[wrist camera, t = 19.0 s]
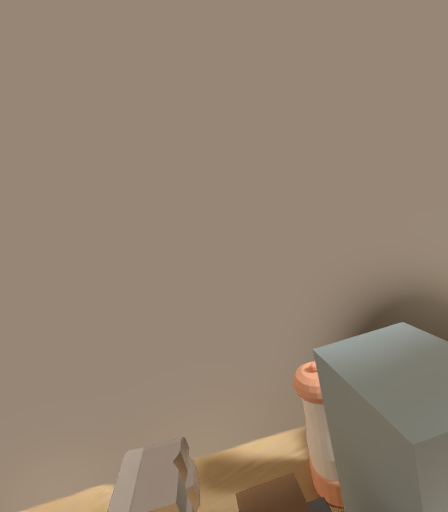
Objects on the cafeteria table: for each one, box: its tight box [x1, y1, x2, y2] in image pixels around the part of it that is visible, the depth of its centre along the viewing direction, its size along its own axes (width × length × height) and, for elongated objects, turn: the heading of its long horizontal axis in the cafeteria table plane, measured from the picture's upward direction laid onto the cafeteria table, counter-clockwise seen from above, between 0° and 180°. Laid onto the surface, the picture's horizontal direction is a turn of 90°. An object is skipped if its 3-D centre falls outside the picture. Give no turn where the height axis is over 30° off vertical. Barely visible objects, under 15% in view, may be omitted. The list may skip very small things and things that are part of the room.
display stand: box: [313, 322, 448, 512], centre depth 24 cm, size 13×11×27 cm
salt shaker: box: [293, 362, 344, 507], centre depth 39 cm, size 7×7×19 cm
